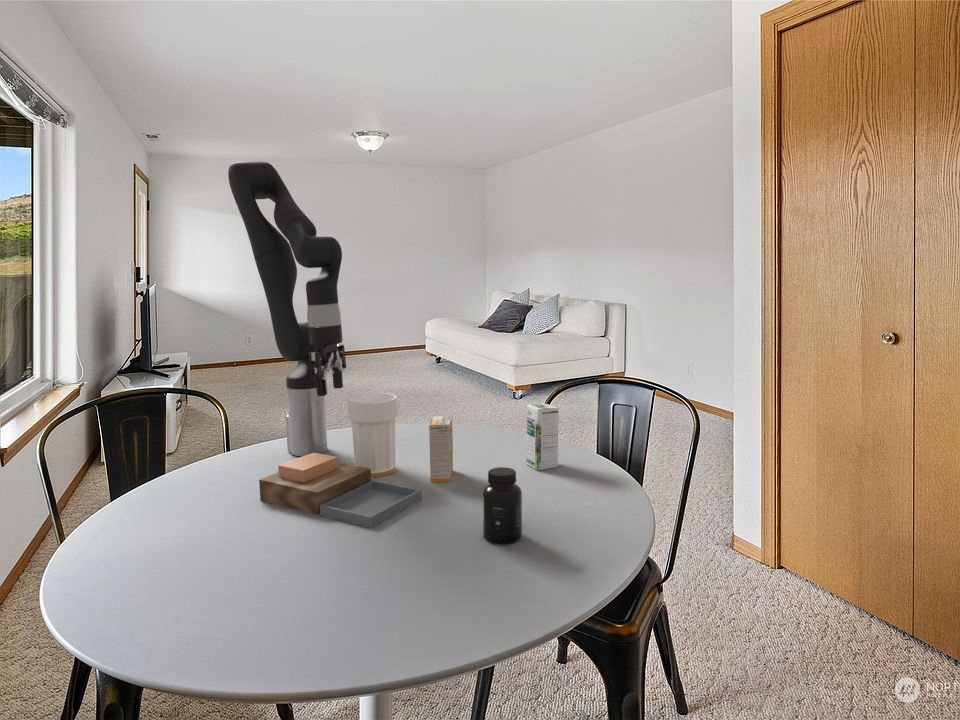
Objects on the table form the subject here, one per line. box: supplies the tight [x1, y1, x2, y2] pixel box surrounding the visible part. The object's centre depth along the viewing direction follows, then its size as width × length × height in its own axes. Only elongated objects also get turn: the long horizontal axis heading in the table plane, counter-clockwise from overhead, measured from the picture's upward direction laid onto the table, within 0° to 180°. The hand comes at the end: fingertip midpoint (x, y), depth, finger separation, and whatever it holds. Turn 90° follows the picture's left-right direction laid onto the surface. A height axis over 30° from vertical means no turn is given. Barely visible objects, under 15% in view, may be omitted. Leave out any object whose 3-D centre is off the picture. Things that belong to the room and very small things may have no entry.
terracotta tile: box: [277, 453, 339, 482], centre depth 134 cm, size 7×10×2 cm
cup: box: [346, 392, 398, 478], centre depth 148 cm, size 11×11×17 cm
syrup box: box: [525, 403, 560, 471], centre depth 150 cm, size 6×6×14 cm
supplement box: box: [428, 415, 454, 483], centre depth 143 cm, size 8×5×13 cm, turn 179°
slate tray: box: [319, 479, 422, 529], centre depth 127 cm, size 12×16×2 cm
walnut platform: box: [258, 462, 372, 516], centre depth 134 cm, size 16×16×4 cm
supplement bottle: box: [482, 466, 523, 545], centre depth 111 cm, size 7×7×12 cm
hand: (330, 391), depth 151 cm, fingers open, 8 cm apart
